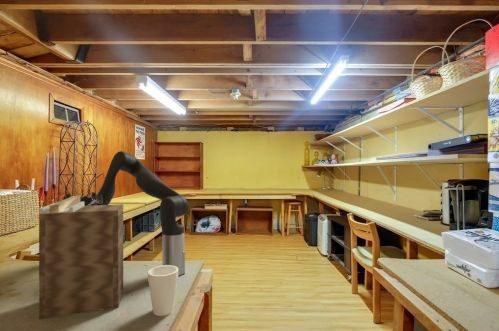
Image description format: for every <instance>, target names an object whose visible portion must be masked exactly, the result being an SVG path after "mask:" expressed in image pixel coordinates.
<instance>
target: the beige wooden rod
mask: <svg viewBox="0 0 499 331" xmlns="http://www.w3.org/2000/svg"><path fill="white" fill-rule="evenodd" d="M80 197H81V195H74V196H73V197H70V198H67V199H64V200H63V199H61V200H59V201H57V202H53V203H54V204H53V203H50V204H51V205H50V204H48V205H49V213H59V212H61V211H63V210H65V209H67V208H69V207H71V206H73V205H75V204H77V203H79V202H80Z"/></svg>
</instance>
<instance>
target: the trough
mask: <svg viewBox="0 0 499 331" xmlns="http://www.w3.org/2000/svg"><path fill="white" fill-rule="evenodd" d="M54 203H55V202H53V203H50V204H48V205H46V206H45V205H44V206H42V207H40V208H38V215H39V214H49V205H51V204H54ZM83 206H84V202H79V203H77V204H75V205H73V206H71V207H69V208H67V209H65V210H63V211H61V212H59V213H70V212H74V211H76V210H78V209H80V208H82V207H83Z"/></svg>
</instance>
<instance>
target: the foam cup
mask: <svg viewBox="0 0 499 331" xmlns="http://www.w3.org/2000/svg"><path fill="white" fill-rule="evenodd" d="M178 278H179V275H178V267H176V266H172V265H163V266H162V265H159V266H158V265H157V266H154V267H152V268H150V269H149V270H148V272H147V281H148V287H149V293H150V294H149V295H150V300H151V301H150V302H151V307H152V313H154V314H155V315H154V314H153V315H154V316H156V315H157V316H158V317H164V316H169V315H171V314H172V313H173V312H174V308H175V301H176V294H177V287H178V286H177V285H178ZM157 316H156V317H157Z"/></svg>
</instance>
